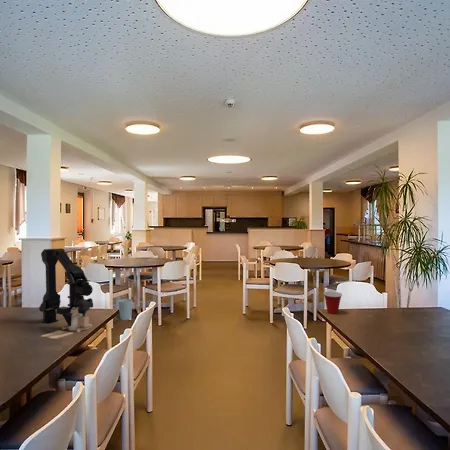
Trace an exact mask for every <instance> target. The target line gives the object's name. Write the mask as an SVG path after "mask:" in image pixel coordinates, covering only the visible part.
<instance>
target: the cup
mask: <svg viewBox="0 0 450 450" xmlns="http://www.w3.org/2000/svg"><path fill="white" fill-rule="evenodd" d="M117 302H118V309H119V317H120V320H122V321H127V320H131V318H132V309H133V302H134V301H133V299H131V298H124V299H119V300H118V301H117Z"/></svg>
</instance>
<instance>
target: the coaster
mask: <svg viewBox="0 0 450 450" xmlns="http://www.w3.org/2000/svg"><path fill="white" fill-rule="evenodd" d="M73 334H74V332H73V331H64V330H54V331H51V332H47V333H45V334H42V335H40V337H42V338H45V339H51V340H52V339H53V340H58V339H61V338H65V337H66V336H70V335H73Z"/></svg>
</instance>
